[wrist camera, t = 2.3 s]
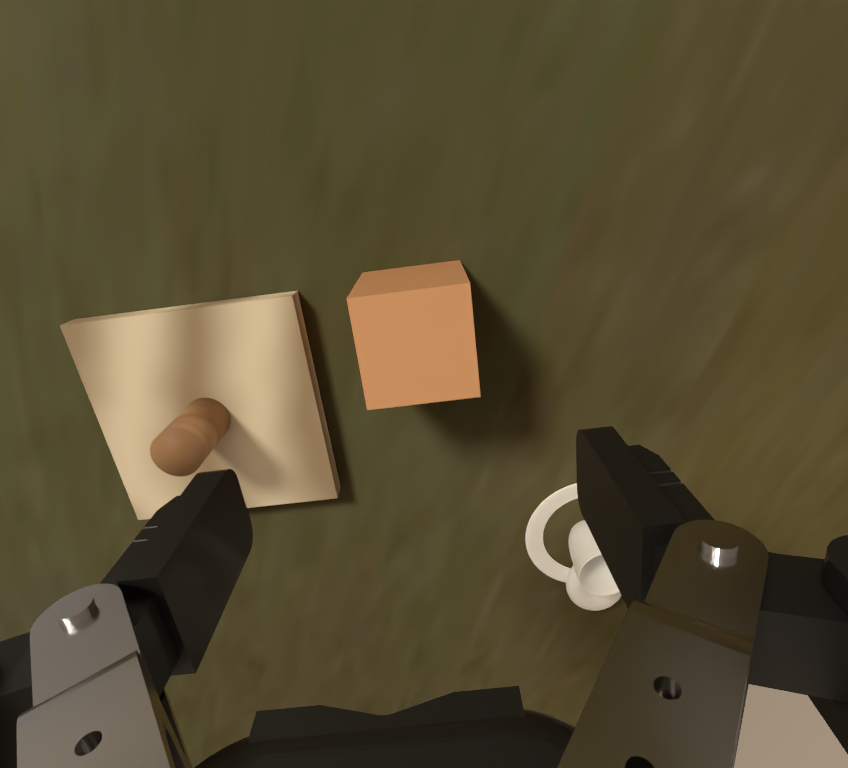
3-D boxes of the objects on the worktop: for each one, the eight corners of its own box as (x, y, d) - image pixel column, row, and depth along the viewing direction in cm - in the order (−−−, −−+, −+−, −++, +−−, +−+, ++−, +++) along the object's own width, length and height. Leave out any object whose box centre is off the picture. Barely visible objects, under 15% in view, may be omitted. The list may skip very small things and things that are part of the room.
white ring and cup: (610, 599, 35) (632, 650, 31) (501, 570, 34) (511, 620, 30) (671, 495, 32) (705, 538, 28) (553, 461, 31) (571, 501, 27)
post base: (297, 290, 27) (270, 316, 22) (340, 486, 31) (325, 543, 26) (74, 319, 27) (-1, 350, 22) (148, 507, 32) (99, 567, 27)
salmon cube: (459, 259, 26) (470, 282, 21) (469, 352, 28) (480, 396, 22) (362, 272, 26) (346, 298, 21) (377, 363, 28) (367, 410, 23)
